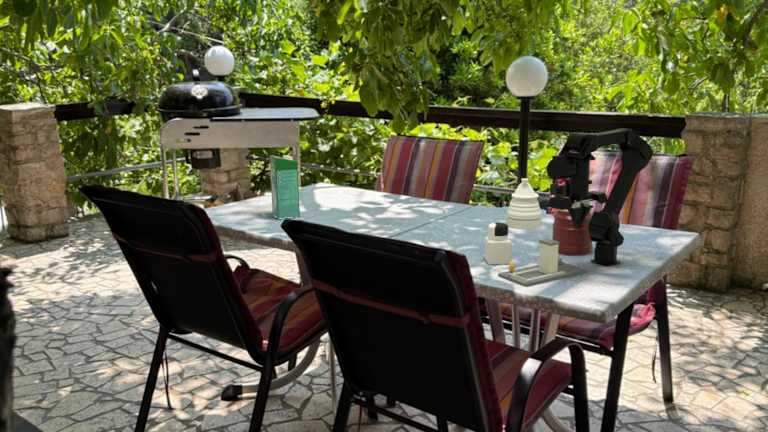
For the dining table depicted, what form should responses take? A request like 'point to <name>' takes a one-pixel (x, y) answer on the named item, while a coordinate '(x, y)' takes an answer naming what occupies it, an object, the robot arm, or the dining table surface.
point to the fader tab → (548, 256)
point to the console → (533, 276)
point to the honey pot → (524, 208)
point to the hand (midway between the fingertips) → (576, 228)
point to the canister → (571, 234)
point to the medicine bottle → (498, 244)
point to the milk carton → (284, 186)
